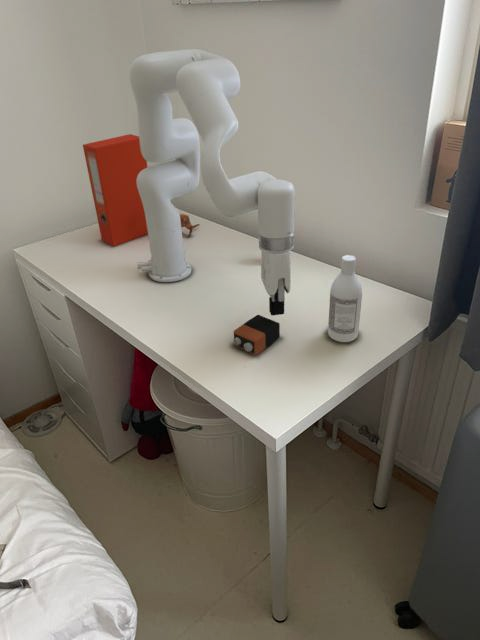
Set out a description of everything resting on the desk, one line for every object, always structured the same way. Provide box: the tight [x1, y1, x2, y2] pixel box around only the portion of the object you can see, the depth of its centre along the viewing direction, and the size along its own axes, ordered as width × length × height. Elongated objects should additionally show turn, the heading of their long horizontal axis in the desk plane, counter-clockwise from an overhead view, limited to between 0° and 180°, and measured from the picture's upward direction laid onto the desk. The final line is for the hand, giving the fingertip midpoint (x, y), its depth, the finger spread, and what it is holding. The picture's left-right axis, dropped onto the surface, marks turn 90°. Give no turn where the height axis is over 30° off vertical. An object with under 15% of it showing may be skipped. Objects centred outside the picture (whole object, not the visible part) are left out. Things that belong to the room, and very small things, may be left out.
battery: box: [233, 314, 281, 356], centre depth 115 cm, size 4×7×10 cm
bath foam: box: [327, 254, 363, 343], centre depth 112 cm, size 7×7×20 cm
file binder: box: [82, 133, 148, 247], centre depth 166 cm, size 8×17×32 cm, turn 133°
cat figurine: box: [179, 213, 200, 237], centre depth 168 cm, size 18×7×14 cm, turn 141°
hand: (276, 312), depth 117 cm, fingers closed
